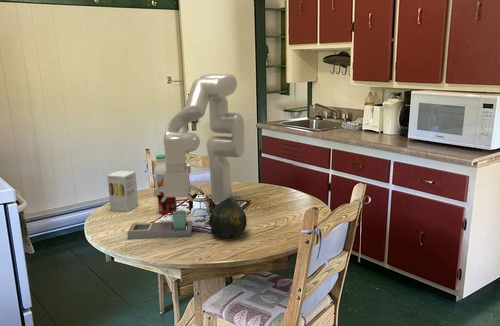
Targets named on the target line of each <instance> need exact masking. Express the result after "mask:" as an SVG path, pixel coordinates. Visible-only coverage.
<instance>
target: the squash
mask: <svg viewBox="0 0 500 326" xmlns="http://www.w3.org/2000/svg"><path fill="white" fill-rule="evenodd" d="M208 219H209V220H208V225H209V227H210V230H211V231H212V232H213V233H214V234H217V235H221V236H222V238H224V239H229V238H230V237H232V238H235V237H237V236H238V235H239V234H242V233H243V232H244V231H245V229H246V227H247V225H248V224H247V221H248V220H247V215H246V213H245V210H244V209H243V208H242V206H241V204H239V203H238V202H237V200H236V199H233V197H231V198H227V199H225V200H224V201H222V202H220V203H219V204H218V205H214V207H213V209H212V210H211V213H210V215H209V218H208Z"/></svg>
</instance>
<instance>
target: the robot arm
mask: <svg viewBox="0 0 500 326" xmlns="http://www.w3.org/2000/svg"><path fill="white" fill-rule="evenodd" d="M237 87H238V80H237V78H236V77H235V75H234V74H231V73H207V74H203V75H201V76H199V78H197V79H195V80H193V82H192V84H191V87H190V89H189V94H188V97H187V99H186V103H185V105H184V107H183V108H182V109H181V110H180V111H179V112H178V113H176V114H175V115H174V116H173V117H172V118H171V119H170V121H169V122H168V124H167V127H166V129H165V133H164V135H163V145H164V155H165V163H166V171H164V180H163V186H162V187H160V188H158V189H156V190H154V192H153V193H154V194H155V196H156V198H157V199H158V198H159V199H160V200H161V202H162V208H163V209H164V212H166V211H167V200H166V198H167V197H176V198H185V197H186V198H187V199H188V210H189V212H192V209H194V200H195V199H196V198H197V197H198V195H199V192H200V190H201V189H200V188H198V187H197V186H194V185H193V184H191V179H190V173H189V170H188V169H190V164H188V163H186V153H193V152H195V151H196V150H198V149H199V146H200V143H201V140H200V139H201V138H200V137H199V135H197V134H196V133H194V132H186V131H180V130H181V129H182V128H183V127H185V126H186V125H188V124H190V123H193V122H195V121H198V120H200V119H201V118H203V117H204V115H206V111H207V108H208V107H209V128H210V130H211V132H213V133H217V134H228V135H227V136H225V135H214V136H211V137H209V138H208V139H207V141H206V150H207V155H208V159H209V160H208V161H209V175H210V195H211V197H209V198H212V200H213V201H214V204H215V205H214V206H217V205H218V204H219V203H220V202H222V201H224V200H225V199H227V198H231V197H233V199H235V198H237V199H239V198H240V199H241V198H242V197H241V195H242V194H241V193H239V192H233V191H232V181H231V179H232V177H231V176H232V175H231V164H230V161H229V160H228V158H240V157H242V156H243V154H244V153H245V152H244V151H245V121H244V118H243V115H241V113H239V112H238V113H237V112H229V102H228V99H227V97H229V96H230V95H232V94H234V93H235V91H236V90H237ZM208 105H209V106H208ZM229 134H230V135H231V136H229ZM162 190H163V193H164V196H162V195H160V193H159V192H160V191H162ZM191 190H192V191H194V193H193V194H191ZM235 200H236V199H235Z"/></svg>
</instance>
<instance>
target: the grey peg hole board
mask: <svg viewBox="0 0 500 326" xmlns="http://www.w3.org/2000/svg"><path fill="white" fill-rule="evenodd" d="M192 224H193V220H186V226H187V229H174V227H173V221H159V222H158V221H157V222H155V221H154V222H138V223H137V222H136V223H135V222H134V223H132V224H131V226H130V227H129V230H128V231H127V239H128V240H139V239H140V240H141V239H143V240H144V239H160V238H161V239H162V238H164V239H165V238H183V237H184V238H185V237H191V236H192V232H193V227H192Z"/></svg>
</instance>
